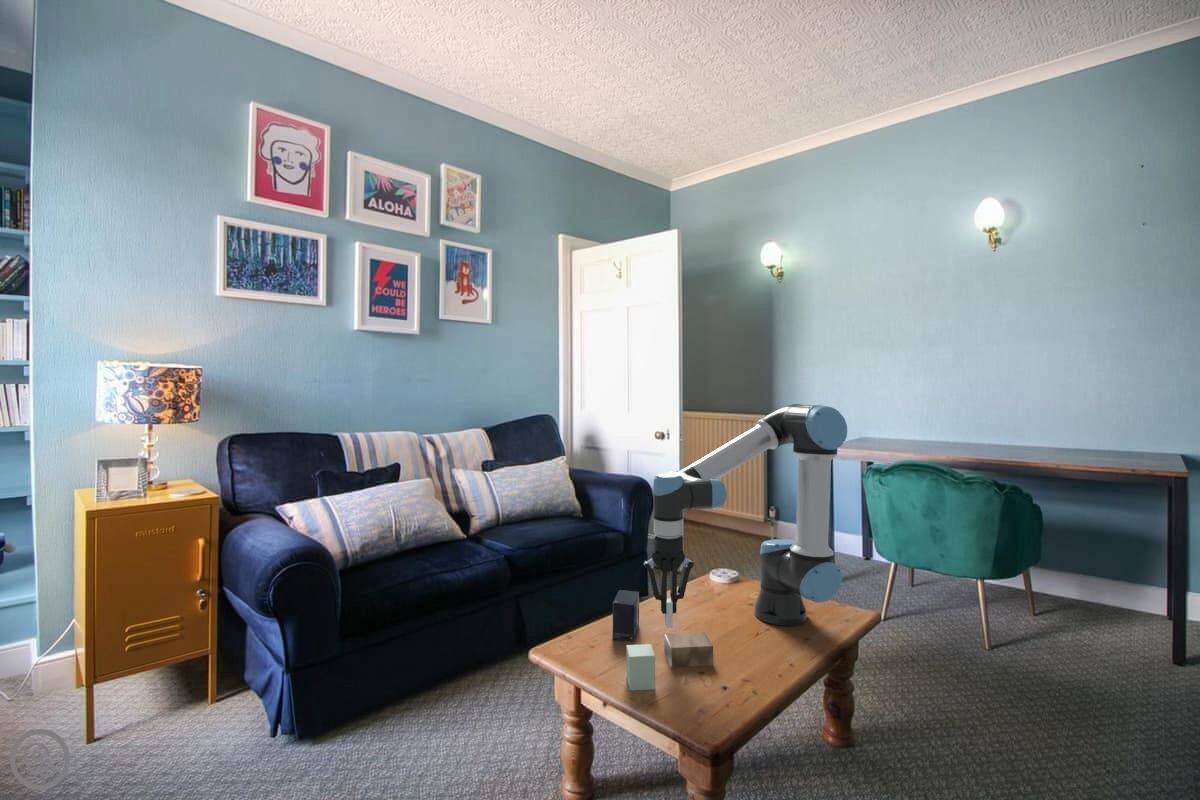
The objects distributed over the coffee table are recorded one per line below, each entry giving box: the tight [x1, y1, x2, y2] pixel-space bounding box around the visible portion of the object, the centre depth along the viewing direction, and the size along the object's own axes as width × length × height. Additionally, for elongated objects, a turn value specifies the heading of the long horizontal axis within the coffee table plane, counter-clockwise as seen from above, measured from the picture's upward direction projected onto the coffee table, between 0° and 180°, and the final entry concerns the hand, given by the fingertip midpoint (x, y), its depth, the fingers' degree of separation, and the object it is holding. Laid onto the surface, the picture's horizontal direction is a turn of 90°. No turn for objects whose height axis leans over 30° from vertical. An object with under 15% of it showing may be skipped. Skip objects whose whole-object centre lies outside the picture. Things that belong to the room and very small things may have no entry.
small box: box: [612, 589, 640, 642], centre depth 167 cm, size 11×6×10 cm, turn 168°
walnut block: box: [663, 632, 714, 668], centre depth 151 cm, size 5×8×11 cm
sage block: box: [625, 643, 656, 691], centre depth 139 cm, size 6×6×8 cm
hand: (668, 625), depth 150 cm, fingers closed
